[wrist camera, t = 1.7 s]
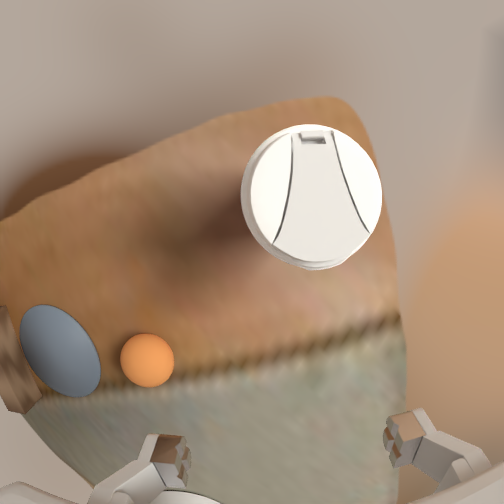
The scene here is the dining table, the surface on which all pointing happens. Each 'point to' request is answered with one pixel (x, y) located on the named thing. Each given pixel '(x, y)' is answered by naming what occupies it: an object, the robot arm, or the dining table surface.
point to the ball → (147, 360)
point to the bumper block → (14, 370)
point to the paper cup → (311, 196)
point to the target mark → (60, 351)
